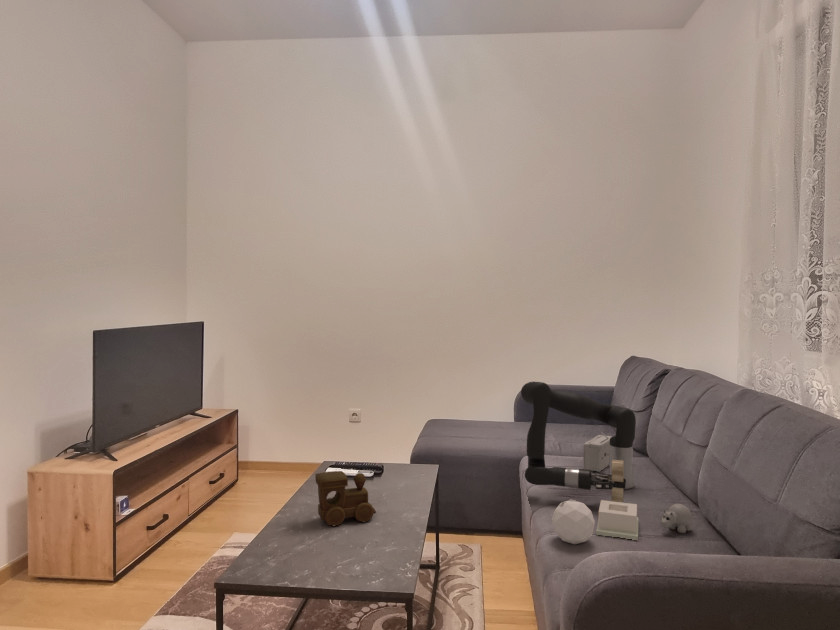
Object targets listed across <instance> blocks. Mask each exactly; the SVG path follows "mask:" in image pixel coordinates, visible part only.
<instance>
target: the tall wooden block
mask: <svg viewBox="0 0 840 630" xmlns="http://www.w3.org/2000/svg"><path fill="white" fill-rule="evenodd" d="M623 472H624V461H621V460H612V481H618V482H623ZM611 501H613V502H621V503H624V489H623V488H615V487H614V488H612V489H611Z"/></svg>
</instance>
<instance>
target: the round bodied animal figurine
mask: <svg viewBox="0 0 840 630" xmlns="http://www.w3.org/2000/svg"><path fill="white" fill-rule="evenodd" d="M691 521H692V513H691V510H690V509H689V507H687V506H686V505H685V504H681V503H674V504H672V505H670V506H669V508H668V510H666V509H665V508H663V515H662V518H661V522H660V523H661V526H662V527H663V528H666V529H668V528H669V529H670V530H675V531H677V532H678V533H679V534H686V532H691V531H693V526H692V523H691Z"/></svg>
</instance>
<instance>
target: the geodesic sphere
mask: <svg viewBox="0 0 840 630" xmlns="http://www.w3.org/2000/svg"><path fill="white" fill-rule="evenodd" d="M553 511H554V512H553V514H552V519H551V522H552V523H551V524H552V525H553V529H554V531H555V534H557V536H558V537H559V538H560V539H561V541H563V542H566V543H568V544H572V545H577V544H581V543H585V542H587V541H588V540H589V539H590V537H591V536H592V535H593V534H594V528H595V524H596V522H595V518H594V515H593V512H592V510H591V509H590V508H589V507H588V506H587V505H586V504H585V503H583V502H581V501H578V500H575V499H571V498H569V500H565V501H562V502H560V503H559V504H558V506H557V507H556V508H555V509H554V510H553Z"/></svg>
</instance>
